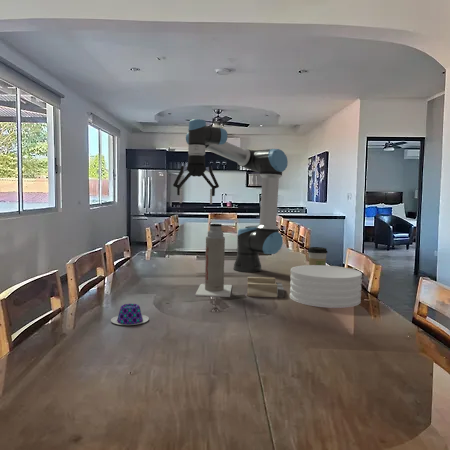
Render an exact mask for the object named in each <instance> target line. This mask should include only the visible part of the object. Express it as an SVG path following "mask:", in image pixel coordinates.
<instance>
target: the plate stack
mask: <svg viewBox="0 0 450 450" xmlns="http://www.w3.org/2000/svg"><path fill="white" fill-rule="evenodd" d="M362 277H363V273H362V271H359V270H357V269H354V268H349V267H344V266H337V265H326V264H325V265H309V264H305V265H304V264H303V265H297V266H293V267H291V268H290V275H289V278H290V281H289V285H290V287H289V299H291V300H292V301H294V302H297V303H299V304H303V305H306V306H309V307H310V306H311V307H312V306H313V307H317V308H318V307H319V308H330V309H340V308H341V309H344V308H352V307H357V306H359V305H360V304H361V303H362V302H361V301H362V300H361V299H362V298H361V297H362V284H363V282H362V281H363V279H362Z"/></svg>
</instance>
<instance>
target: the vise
mask: <svg viewBox="0 0 450 450" xmlns="http://www.w3.org/2000/svg"><path fill="white" fill-rule="evenodd" d="M246 291H247V292H246V293H247V296H246V297H259V298H260V297H261V298H262V297H263V298H285V289H284V285H283V283H282V282H277V281H276V277H265V276H264V277H262V276H261V277H260V276H258V277H257V276H247V289H246Z"/></svg>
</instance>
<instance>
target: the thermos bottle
mask: <svg viewBox="0 0 450 450" xmlns="http://www.w3.org/2000/svg"><path fill="white" fill-rule="evenodd" d="M222 226H223V225H222V223H210V224H209V230H208V231H207V233H206V235H207V236H206V237H205V269H204V270H205V271H204V272H205V273H204V274H205V275H204V277H205V278H204V284H205V290H207V291H222V290H224V285H225V252H226V251H225V245H226V237H225V236H224V231H222Z"/></svg>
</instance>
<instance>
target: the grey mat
mask: <svg viewBox="0 0 450 450" xmlns="http://www.w3.org/2000/svg"><path fill="white" fill-rule="evenodd" d="M232 286H233V285H232V284H224V290H222V291H207V290H205V283H200V284H199V286H198V289H197V290H196V292H195V297H215V298H216V297H218V298H221V297H222V298H231V292H232Z"/></svg>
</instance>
